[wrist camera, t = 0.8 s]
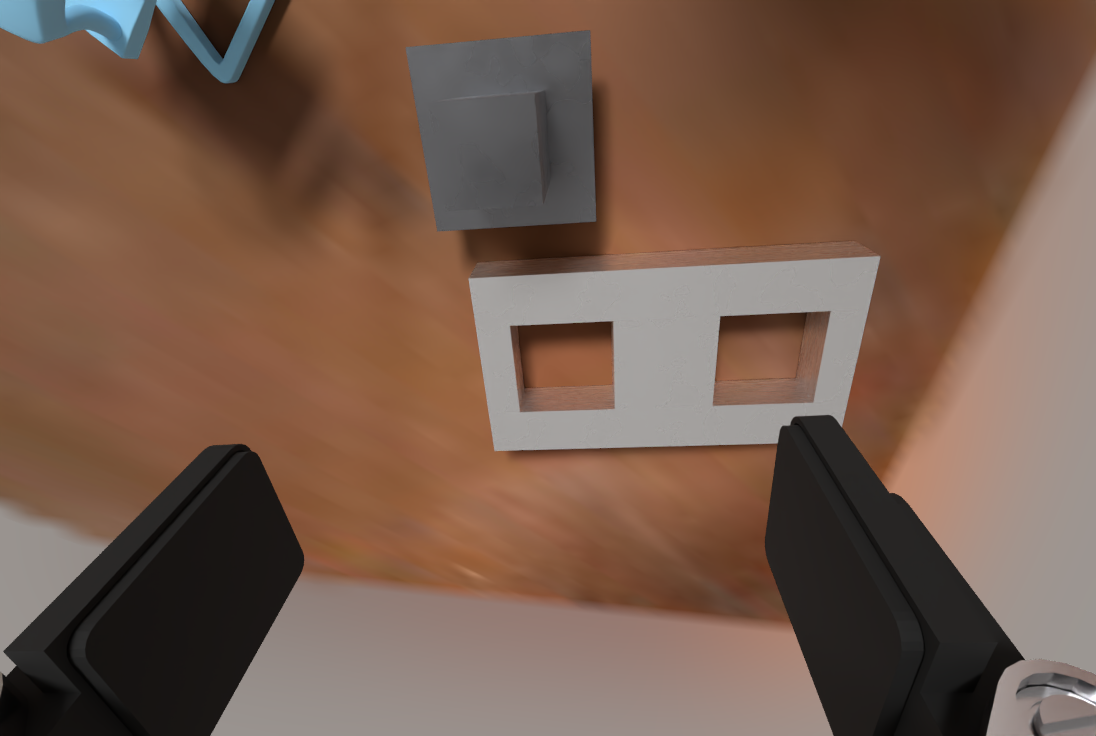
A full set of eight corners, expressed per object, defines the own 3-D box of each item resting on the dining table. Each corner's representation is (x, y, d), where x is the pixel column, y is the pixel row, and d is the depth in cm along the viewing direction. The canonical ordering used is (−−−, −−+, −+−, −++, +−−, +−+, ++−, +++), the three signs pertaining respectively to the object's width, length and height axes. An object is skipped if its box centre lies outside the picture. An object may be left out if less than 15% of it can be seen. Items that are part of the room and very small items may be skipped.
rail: (477, 262, 32) (468, 278, 30) (854, 240, 31) (880, 256, 28) (500, 425, 38) (494, 450, 35) (819, 415, 36) (838, 441, 34)
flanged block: (424, 50, 27) (356, 38, 19) (589, 35, 27) (592, 16, 18) (451, 216, 31) (404, 266, 23) (594, 207, 31) (599, 255, 22)
